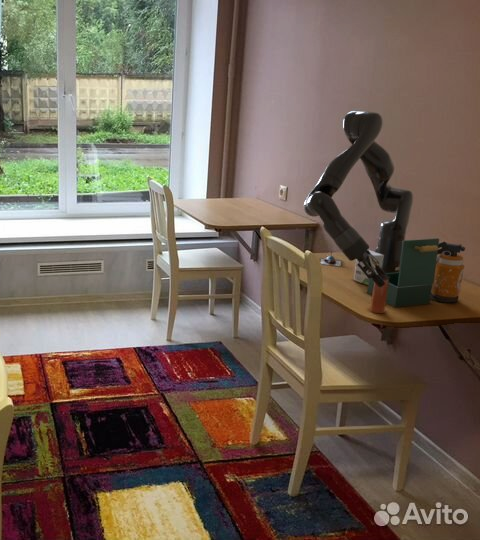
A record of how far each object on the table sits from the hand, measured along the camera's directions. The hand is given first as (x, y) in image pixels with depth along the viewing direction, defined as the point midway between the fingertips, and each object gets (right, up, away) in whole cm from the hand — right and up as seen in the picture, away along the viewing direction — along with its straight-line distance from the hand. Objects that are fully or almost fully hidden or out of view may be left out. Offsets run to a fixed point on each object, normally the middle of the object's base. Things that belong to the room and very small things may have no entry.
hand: (383, 281), depth 194 cm
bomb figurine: (+2, +7, +55) cm, 56 cm away
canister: (+26, -6, +15) cm, 31 cm away
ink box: (+7, -1, +31) cm, 32 cm away
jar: (-1, -10, +3) cm, 10 cm away
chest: (+12, -6, +15) cm, 20 cm away
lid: (+13, +6, +5) cm, 16 cm away
